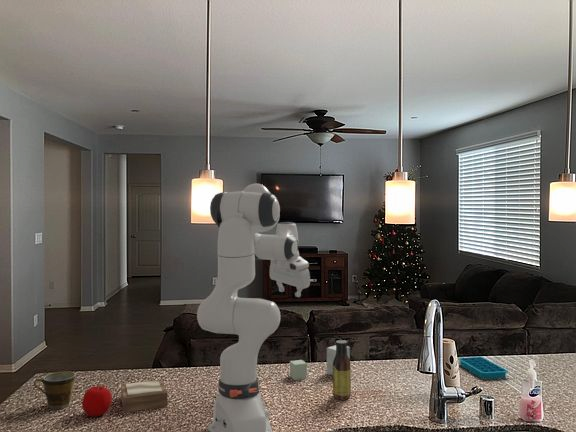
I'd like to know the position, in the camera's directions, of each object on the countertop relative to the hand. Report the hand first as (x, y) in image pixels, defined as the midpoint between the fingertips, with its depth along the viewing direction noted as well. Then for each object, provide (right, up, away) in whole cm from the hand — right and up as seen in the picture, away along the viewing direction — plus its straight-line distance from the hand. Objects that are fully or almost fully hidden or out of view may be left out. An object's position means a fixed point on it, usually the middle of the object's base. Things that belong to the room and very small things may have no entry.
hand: (289, 293), depth 205 cm
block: (+3, -32, -7) cm, 33 cm away
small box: (+19, -32, -1) cm, 37 cm away
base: (-50, -32, -32) cm, 68 cm away
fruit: (-62, -32, -42) cm, 82 cm away
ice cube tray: (+79, -32, +1) cm, 85 cm away
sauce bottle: (+18, -32, -28) cm, 46 cm away
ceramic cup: (-79, -32, -36) cm, 92 cm away
